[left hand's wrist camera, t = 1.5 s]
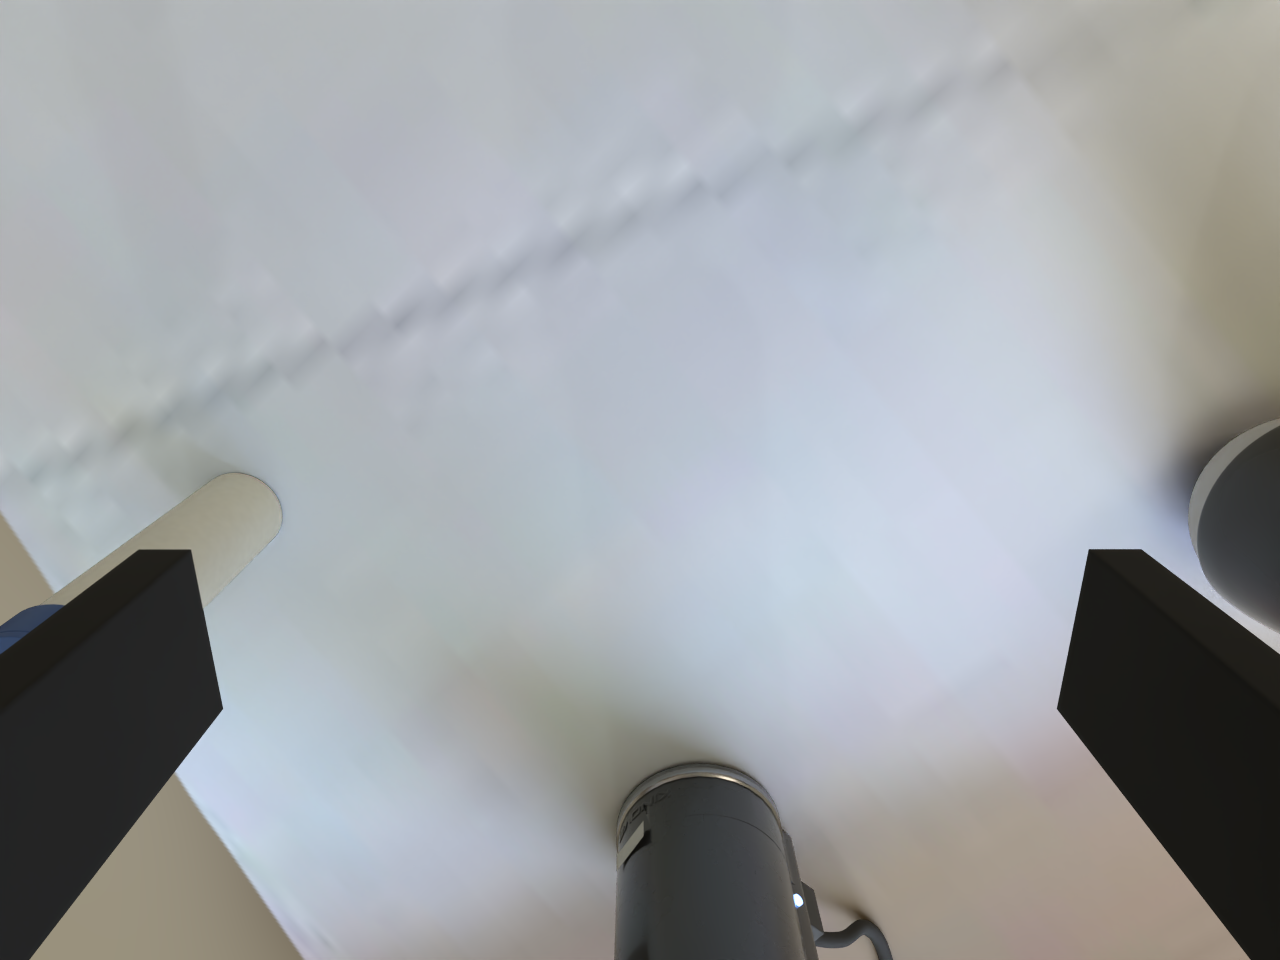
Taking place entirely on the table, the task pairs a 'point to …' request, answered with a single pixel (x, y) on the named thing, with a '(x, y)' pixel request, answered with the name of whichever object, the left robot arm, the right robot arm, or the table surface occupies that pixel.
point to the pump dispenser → (1242, 523)
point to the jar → (202, 534)
